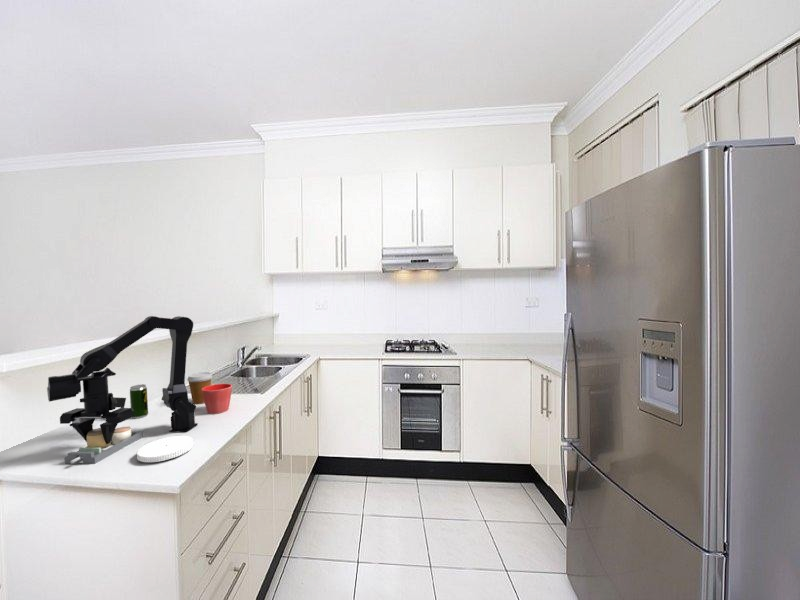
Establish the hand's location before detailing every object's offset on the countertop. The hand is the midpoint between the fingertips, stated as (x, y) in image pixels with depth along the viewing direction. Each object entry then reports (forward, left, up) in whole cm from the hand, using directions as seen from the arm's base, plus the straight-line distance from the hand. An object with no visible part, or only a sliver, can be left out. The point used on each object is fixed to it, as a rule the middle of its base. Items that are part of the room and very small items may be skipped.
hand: (99, 443), depth 107 cm
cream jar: (0, -8, -3) cm, 8 cm away
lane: (0, -3, -3) cm, 4 cm away
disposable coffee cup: (-2, -47, -3) cm, 47 cm away
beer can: (+12, -30, -3) cm, 33 cm away
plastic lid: (-21, 0, -4) cm, 21 cm away
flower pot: (-16, -36, -3) cm, 40 cm away
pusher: (0, +6, -3) cm, 6 cm away
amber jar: (0, 0, -1) cm, 1 cm away
